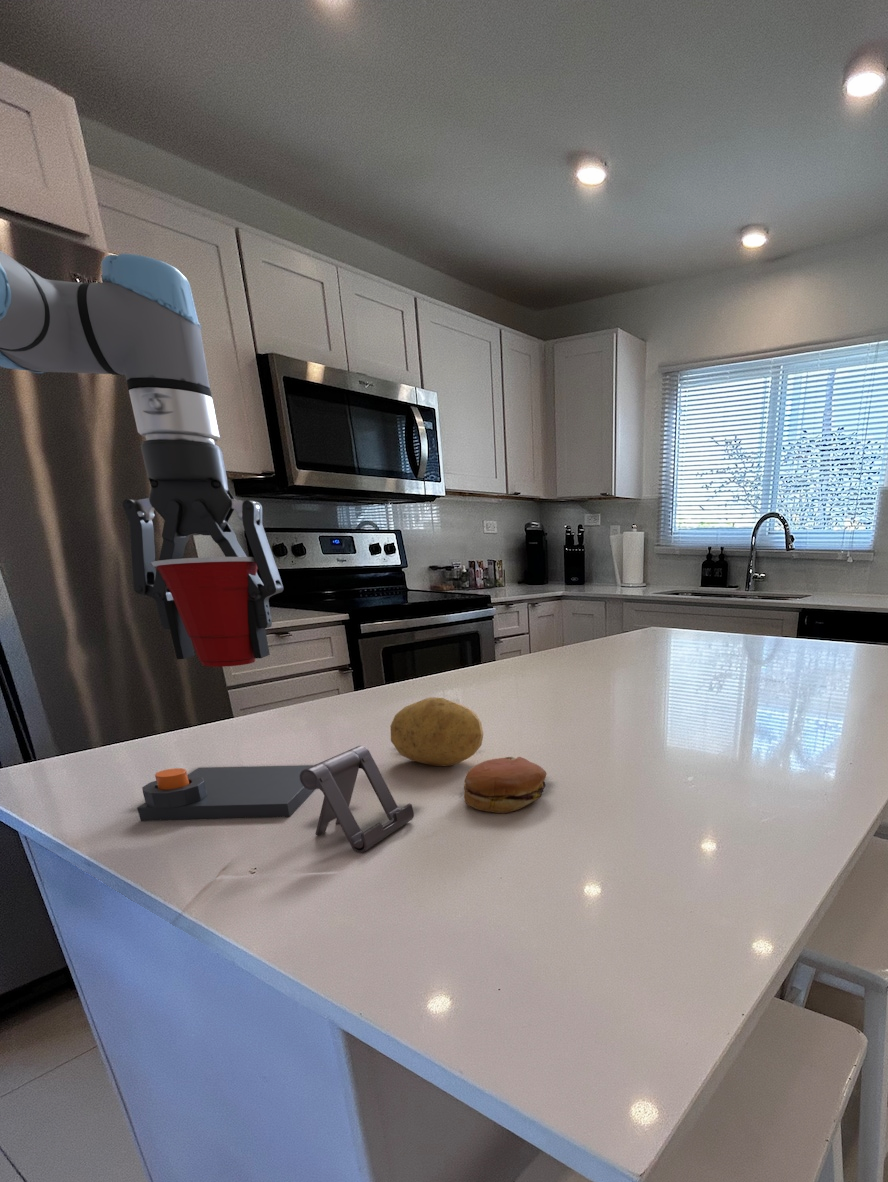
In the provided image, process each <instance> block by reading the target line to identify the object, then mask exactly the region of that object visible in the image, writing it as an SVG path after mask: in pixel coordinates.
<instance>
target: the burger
mask: <svg viewBox="0 0 888 1182" xmlns="http://www.w3.org/2000/svg"><path fill="white" fill-rule="evenodd" d="M547 775H548V773H547V771H546V770H545V769H544V768H543V767H542V766H540V765H539V764H537V763H535V762H531V761H530V760H528V759H526V758H524V757H522V756H517V757H515V756H505V757H499V758H492V759H488V760H484V761H482V762H480V763H477V764H476V765H474V766H472V767H471V768H469V771H468V772H466V775H465V777H464V783H463V792H464V795H463V796H464V797H463V798H464V802H465V804H467V805H468V806H469V807H471V808H474V809H476V810H479V811H483V812H490V813H491V812H492V813H495V814H497V813H498V814H506V813H510V812H511V813H512V812H515V811H518V810H521V809H523V808H524V807H526V806H528V805H530V804H531V803H534V802H535V801H537V800H539V799H540V798H541V797H542V795H543V792H545V791H544V789H545V788H546V786H547V784H546V781H545V780H546V777H547Z"/></svg>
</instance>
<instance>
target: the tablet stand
mask: <svg viewBox="0 0 888 1182" xmlns="http://www.w3.org/2000/svg"><path fill="white" fill-rule="evenodd" d="M313 765H314V766H311V767H309V768H307V769H304V770H303V771H301V773H300V781H301V783H302V785H303V786H304V787H305V788H306V789H309V790H314V789H315V790H320V791H321V792H322V794H323V796H324V797H323V801H322V804H321V809H320V813H319V817H318V822H317V826H316V830H315V833H314V834H315V835H316V837H319V836H321V835H323V834H324V833H326V831H327V828H328V825H329V824H330V822H332V821H334V820H335V825H336V826H340V828H341V830H342V832H343V833H344V835H345V838H346V839H347V841H348V843H349V845H350V847H351V848H352V850H353V851H355V852H356V853H360V854H363V853H364V852H366V851H368V850H371V849H372V847H374V846H375V845H377V844H378V843H380V842H381V841H383V840H384V839H386V838H387V837H388V836H390V835H391V834H393V833H394V832H395V831H397V830H399V829H400V828H402V827H404V826H406V825H407V824H408V823H410V822H411V821H412V820H413V819H414V817H415V812H414V808H413V804H412V803H407V804H406V805H404V806H403V807H401V808H400V807H398V805H397V802H396V800H395V799H394V797H393V795H392V793H391V791H390V789H389V787H388V784H387V783H386V781H385V778H384V777H383V775H382V773H381V771H380V769H379V767H378V765H377V763H376V761H375V759H374V757H373V755H372V754H371V751H370V749H369V748H368V747H366V746H365V745H357V746H355V747H353V748H351V749H348V750H346V751H343V752H341V753H339V754H337V755H333V756H332V757H330V758H327V759H325V760H323V761H321V762H318V763H316V764H313ZM359 769H361V770H363V772H364V773H365V776H366V777H367V779H368V781H369V783H370V786H371V787H372V789H373V791H374V793H375V795H376V797H377V799H378V801H379V803H380V806H381V807H382V808H383V811H384V813H385V814H386V817H387V818H388V821H386V822H384V823H383V822H378V823H376V824H375V825H373V826H371V827H370V828H367V829H366V830H364V831H363V830H361V828H360V826H359V825H358V822H357V820H356V818H355V817H354V815H353V812H352V811H351V809H350V805H351V800H352V798H353V797H352V796H353V794H354V789H355V785H356V781H357V777H358V774H359ZM315 790H314V791H315Z"/></svg>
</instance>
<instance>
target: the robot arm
mask: <svg viewBox="0 0 888 1182" xmlns="http://www.w3.org/2000/svg"><path fill="white" fill-rule="evenodd" d="M100 267H101V275H100V277H101V281H102V282H75V281H67V280H66V281H65V280H57V279H56V280H55V279H48V278H44V277H42V276H40V275H39V274H37V273H36V272H34V271H32V269H30V268H28V267H26V266H25V265H23V264H22V263H20V262H19V261H17V260H16V259H15V258H13V257H11V256H10V255H8V254H7V253H6V252H4V251H2V250H1V249H0V367H1V368H4V369H10V370H20V371H28V372H30V373H33V374H44V373H66V374H67V373H68V374H69V373H70V374H97V375H113V376H124V377H125V379H126V386H127V391H128V394H129V398H130V402H131V406H132V412H133V416H134V421H135V425H136V431H137V433H138V434H139V435H140V436H142V437H144V438H145V440H142V442H141V444H140V449H141V450H140V451H141V455H142V458H143V463H144V467H145V472H146V476H147V478H148V481H149V484H150V492H149V495H148V497H146V498H140V499H131V498H130V499H128V498H126V499H123V501H122V504H121V505H122V508H123V510H124V513H125V515H126V517H127V520H128V524H129V533H130V535H129V537H130V551H131V566H132V567H131V569H132V583H133V591H134V592H135V593H136V594H138V595H144V596H147V597H148V598H149V597H150V598H152V599H153V600H154V601H155V603H156V607H157V612H158V616H159V620H160V624H161V626H162V628H163V629H164V630H170V636H171V640H172V644H173V645H172V646H173V649H174V652H175V658H176V660H186V659H188V658H192V657H194V656H195V655H196V653H195V649H194V646H193V643H192V641H191V638H190V637H189V636H188V633H187V631H186V629H185V626H184V624H183V621H182V619H181V616H180V614H179V612H178V609H177V607H176V604H175V602H174V599H173V597H172V595H171V592H170V590H169V589H168V587H167V585H166V582H165V580H163V578H162V575H161V573H159V570H157V567H155V566H153V564H152V563H151V562H154V561H156V548H155V547H156V546H155V530H154V529H155V528H154V524H153V523H154V522H153V520H154V519H155V513H154V511H156V513H158V514H159V516H160V517H161V518H162V519H163V520H164V522H163V528H162V533H161V538H162V544H161V549H160V553H159V558H158V561H160V560H170V559H184V554H185V548H186V545H187V543H188V542H189V540H190V537H191V536H210V537H211V539H212V540H213V542H214V543H215V544H217V545H218V547H219V548H220V550H221V552H222V553H223V556H224V557H248V556H247V555H246V553H245V551H244V549H243V548H242V547H241V545H240V542H239V541H238V539H237V535H236V533H235V531H234V530H233V528H232V527H231V525H230V523H229V521H230V518H231V516H232V515H233V513H234V511H235V513H236V514H237V518H238V519H239V520H241V521H242V525H243V529H244V532H245V536H246V538H247V542H248V544H249V547H250V550H251V552H252V555H253V556H252V557H254V559H255V561H256V564H257V567H258V569H257V571H258V572H257V573H256V576H254V575H251V574H248V594H249V595H250V597H248V598H249V599H250V600H251V601H247V604H248V626H249V631H250V636H251V642H252V647H253V653H254V658H255V659H263V658H265V657H268V656H270V655H271V654H270V648H269V642H268V637H267V632H266V629H269V628H272V625H273V620H272V614H271V609H270V602H269V600H270V598H271V597H272V596H275V595H277V594H280V593H283V591H284V589H285V588H284V585H283V582H282V581H283V580H282V579H281V576H280V572H279V570H278V566H277V564H276V561H275V558H274V554H273V552H272V549H271V546H270V542H269V539H268V537H267V534H266V530H265V528H264V526H263V506H262V504H261V503H260V502H258V501H255V500H249V499H247V500H242V499H235V497H234V495H233V494H232V493H231V491H230V489H229V486H228V484H229V483H228V482H229V481H228V476H227V470H226V464H225V459H224V454H223V449H221V448H220V446H219V445H217V444H215V443H216V442H219V440H220V439H221V436H220V430H219V426H218V421H217V416H216V411H215V406H214V400H213V396H212V390H211V386H210V385H211V384H210V380H209V374H208V368H207V367H208V366H207V362H206V355H205V349H204V342H203V337H202V330H203V329H202V325H201V323H200V322H199V319H198V318H199V317H198V313H197V309H196V306H195V300H194V296H193V292H192V288H191V284H190V282H189V280H188V279H187V277H186V276H185V275H184V274H183V273H182V272H181V271H180V270H179V269H178V268H176V267H175V266H173V265H171V264H169V263H167V262H166V261H162V260H159V259H158V258H153V257H149V256H146V255H141V254H135V253H119V254H109V255H106V256H104V258H103V259H102V261H101V262H100ZM258 573H259V574H258Z"/></svg>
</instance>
